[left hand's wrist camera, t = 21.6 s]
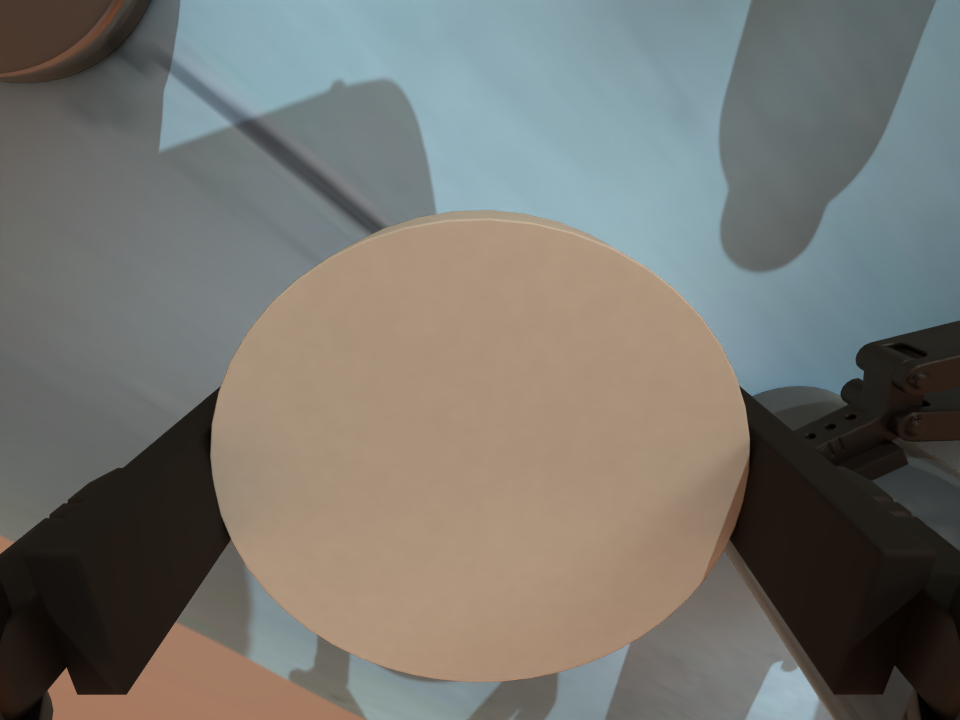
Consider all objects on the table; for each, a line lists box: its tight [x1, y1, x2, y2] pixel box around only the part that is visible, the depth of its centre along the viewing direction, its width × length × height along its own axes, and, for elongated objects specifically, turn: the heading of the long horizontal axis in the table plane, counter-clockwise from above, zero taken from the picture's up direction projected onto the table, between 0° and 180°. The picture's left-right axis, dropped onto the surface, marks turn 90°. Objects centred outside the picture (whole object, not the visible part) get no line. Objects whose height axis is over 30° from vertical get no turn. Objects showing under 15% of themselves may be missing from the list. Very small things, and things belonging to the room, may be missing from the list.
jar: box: [724, 386, 960, 720], centre depth 20 cm, size 10×10×17 cm
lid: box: [210, 210, 750, 682], centre depth 11 cm, size 11×11×2 cm
